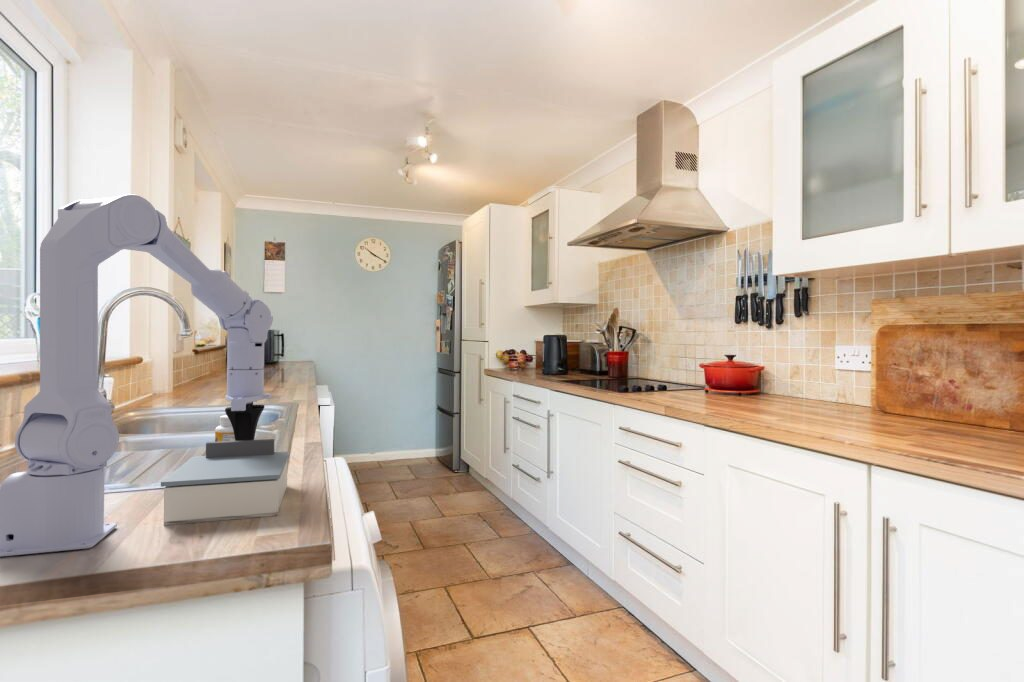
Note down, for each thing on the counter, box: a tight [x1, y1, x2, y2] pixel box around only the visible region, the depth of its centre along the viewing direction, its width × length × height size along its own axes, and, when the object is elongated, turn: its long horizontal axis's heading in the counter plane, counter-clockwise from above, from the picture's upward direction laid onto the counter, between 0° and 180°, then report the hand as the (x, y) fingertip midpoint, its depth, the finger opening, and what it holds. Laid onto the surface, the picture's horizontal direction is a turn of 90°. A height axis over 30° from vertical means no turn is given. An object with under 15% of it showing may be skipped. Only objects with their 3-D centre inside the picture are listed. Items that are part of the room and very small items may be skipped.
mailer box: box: [163, 461, 288, 526], centre depth 81 cm, size 14×16×5 cm
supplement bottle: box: [214, 414, 235, 442], centre depth 103 cm, size 6×6×10 cm
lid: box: [160, 438, 290, 488], centre depth 81 cm, size 15×17×3 cm
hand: (244, 448), depth 91 cm, fingers closed
